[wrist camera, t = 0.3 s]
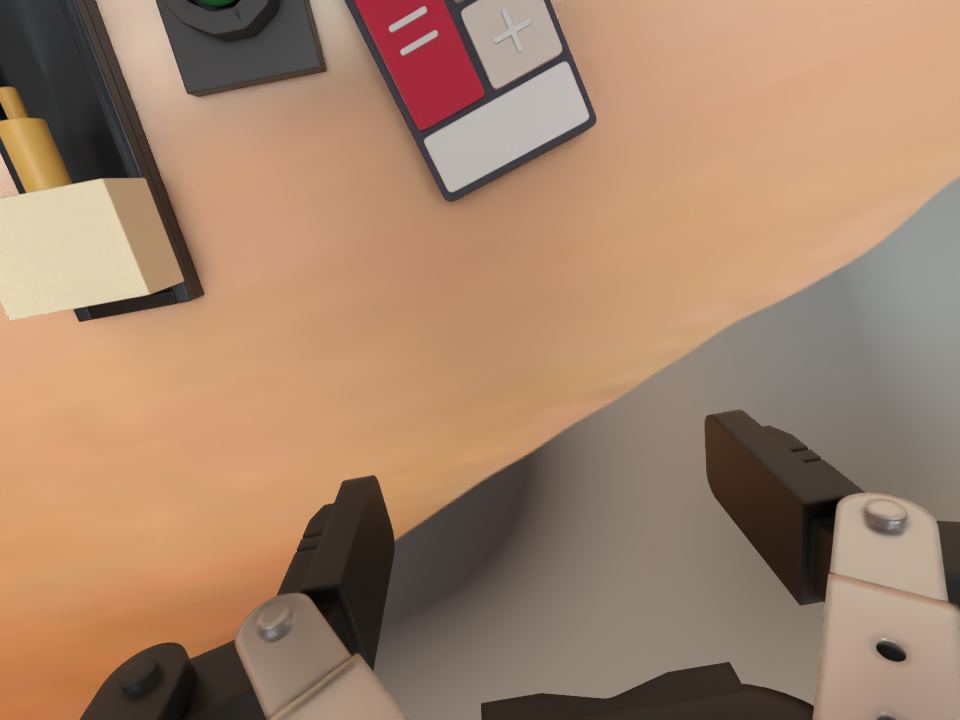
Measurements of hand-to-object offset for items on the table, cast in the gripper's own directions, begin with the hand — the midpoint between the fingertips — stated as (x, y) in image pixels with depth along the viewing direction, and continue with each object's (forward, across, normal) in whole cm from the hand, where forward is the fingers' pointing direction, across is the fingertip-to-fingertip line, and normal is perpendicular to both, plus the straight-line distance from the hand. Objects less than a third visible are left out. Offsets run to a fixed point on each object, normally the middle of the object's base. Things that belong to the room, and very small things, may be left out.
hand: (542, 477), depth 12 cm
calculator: (+29, -1, -14) cm, 32 cm away
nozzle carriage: (+27, +26, -10) cm, 39 cm away
